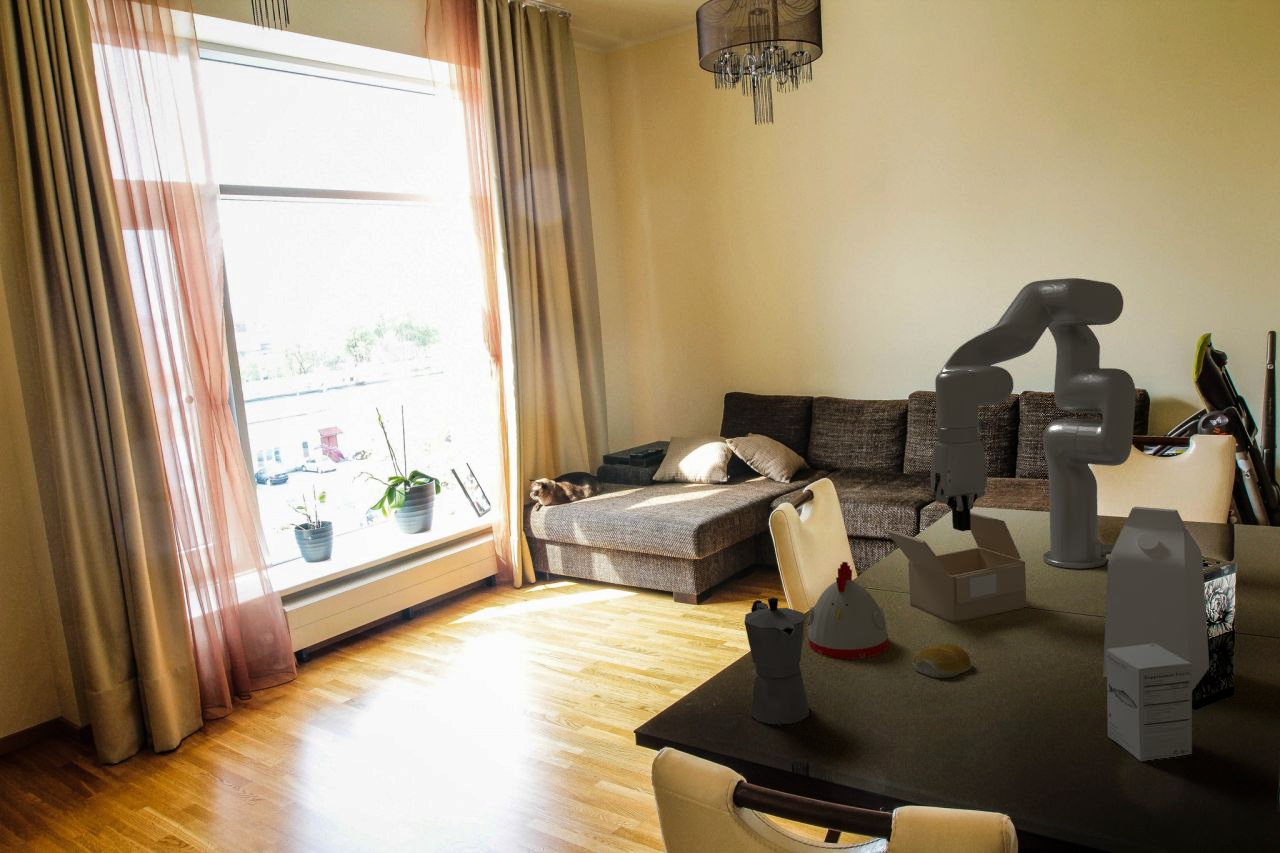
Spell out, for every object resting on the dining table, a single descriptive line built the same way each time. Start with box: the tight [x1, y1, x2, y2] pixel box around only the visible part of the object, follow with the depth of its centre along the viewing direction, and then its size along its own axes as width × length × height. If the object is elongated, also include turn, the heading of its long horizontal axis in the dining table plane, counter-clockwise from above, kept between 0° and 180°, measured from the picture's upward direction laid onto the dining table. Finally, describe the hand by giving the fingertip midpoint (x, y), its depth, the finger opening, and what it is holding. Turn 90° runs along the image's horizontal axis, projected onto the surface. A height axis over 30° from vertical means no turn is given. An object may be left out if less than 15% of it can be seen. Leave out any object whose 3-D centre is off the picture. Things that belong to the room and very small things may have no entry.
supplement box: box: [1106, 644, 1193, 762], centre depth 122 cm, size 7×7×13 cm
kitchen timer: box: [807, 561, 889, 659], centre depth 166 cm, size 14×14×15 cm
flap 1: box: [885, 528, 949, 575], centre depth 177 cm, size 1×11×9 cm
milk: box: [1102, 506, 1210, 692], centre depth 144 cm, size 12×12×26 cm
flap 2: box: [970, 511, 1022, 560], centre depth 182 cm, size 1×11×9 cm, turn 21°
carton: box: [907, 546, 1027, 625], centre depth 181 cm, size 17×14×9 cm
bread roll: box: [911, 643, 972, 679], centre depth 153 cm, size 8×9×4 cm
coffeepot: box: [744, 597, 810, 726], centre depth 142 cm, size 15×9×18 cm, turn 13°
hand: (961, 529), depth 180 cm, fingers closed
